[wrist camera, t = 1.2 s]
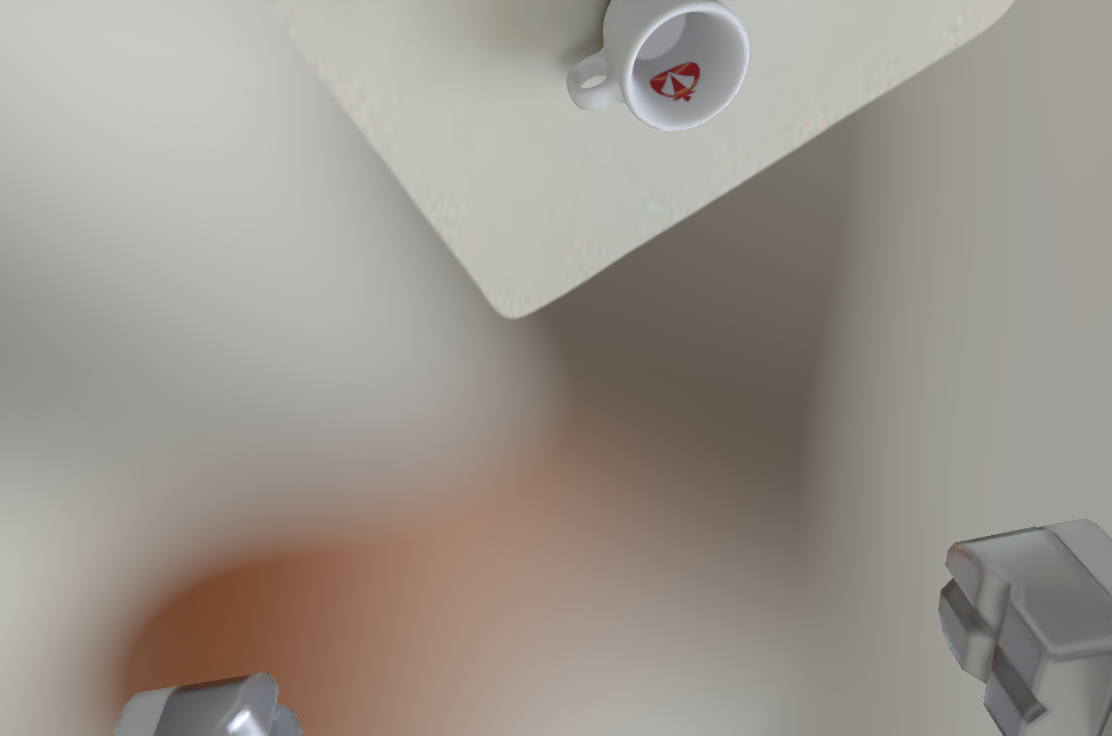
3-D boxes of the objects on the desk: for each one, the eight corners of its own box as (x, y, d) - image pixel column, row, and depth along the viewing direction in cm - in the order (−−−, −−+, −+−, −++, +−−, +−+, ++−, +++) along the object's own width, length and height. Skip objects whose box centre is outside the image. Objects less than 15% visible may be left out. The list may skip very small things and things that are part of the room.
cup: (571, 112, 55) (602, 171, 50) (531, 7, 49) (560, 62, 44) (713, 45, 54) (760, 99, 49) (689, -70, 48) (739, -23, 43)
